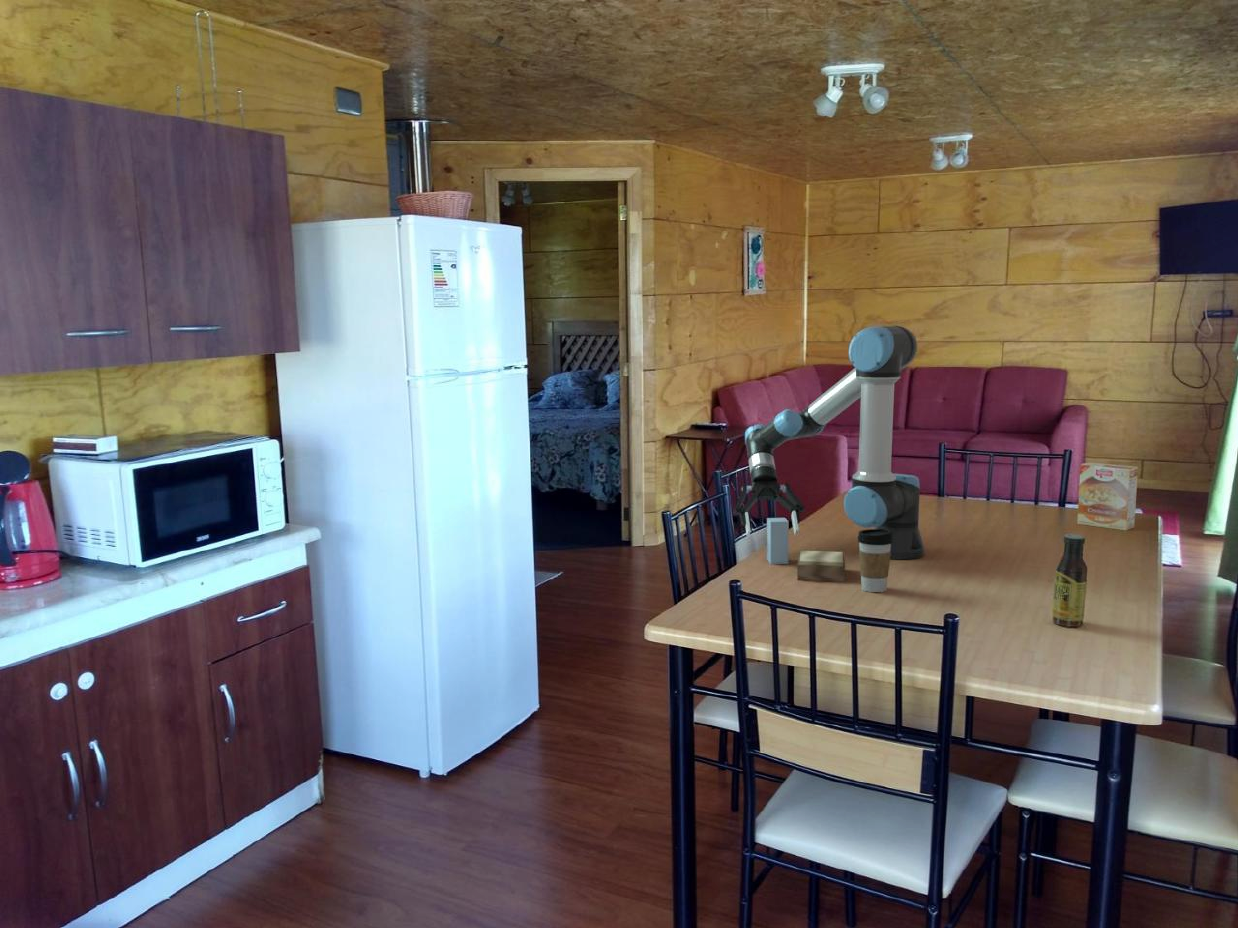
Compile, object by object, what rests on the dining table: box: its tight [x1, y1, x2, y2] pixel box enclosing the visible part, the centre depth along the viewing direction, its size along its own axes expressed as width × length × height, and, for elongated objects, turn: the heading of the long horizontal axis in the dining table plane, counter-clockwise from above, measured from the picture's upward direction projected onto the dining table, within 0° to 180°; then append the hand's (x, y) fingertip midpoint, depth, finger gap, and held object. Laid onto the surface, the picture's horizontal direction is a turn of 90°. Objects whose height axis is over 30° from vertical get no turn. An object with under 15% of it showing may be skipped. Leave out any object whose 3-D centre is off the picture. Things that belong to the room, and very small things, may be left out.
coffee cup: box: [857, 528, 893, 593], centre depth 232 cm, size 8×8×15 cm
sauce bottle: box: [1052, 533, 1088, 628], centre depth 202 cm, size 7×6×20 cm
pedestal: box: [796, 550, 846, 583], centre depth 247 cm, size 12×12×5 cm
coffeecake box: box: [1076, 461, 1139, 531], centre depth 295 cm, size 15×7×20 cm, turn 42°
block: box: [766, 517, 790, 565], centre depth 260 cm, size 5×5×12 cm
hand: (772, 533), depth 262 cm, fingers open, 13 cm apart
